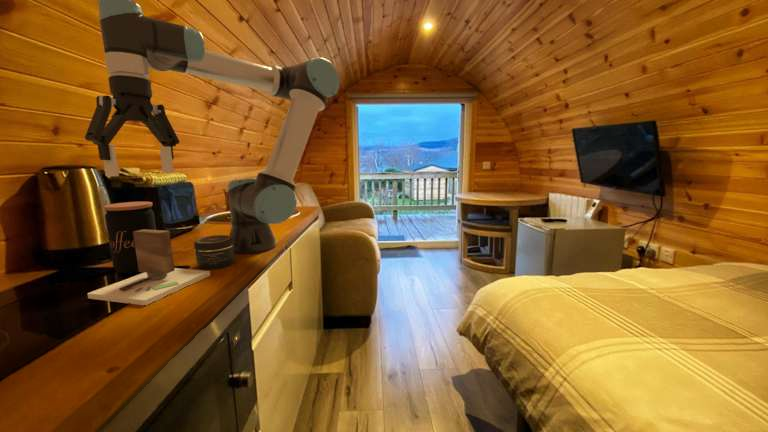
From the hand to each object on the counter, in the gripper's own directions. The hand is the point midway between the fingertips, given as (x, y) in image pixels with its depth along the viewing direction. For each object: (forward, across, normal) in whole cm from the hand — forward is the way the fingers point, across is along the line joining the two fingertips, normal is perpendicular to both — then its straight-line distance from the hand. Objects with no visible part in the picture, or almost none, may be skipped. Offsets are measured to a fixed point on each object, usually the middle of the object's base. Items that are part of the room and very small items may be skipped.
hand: (142, 174), depth 77 cm
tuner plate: (+26, +2, +1) cm, 27 cm away
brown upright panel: (+25, +3, 0) cm, 25 cm away
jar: (+27, -15, +4) cm, 31 cm away
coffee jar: (+27, -8, -16) cm, 32 cm away
